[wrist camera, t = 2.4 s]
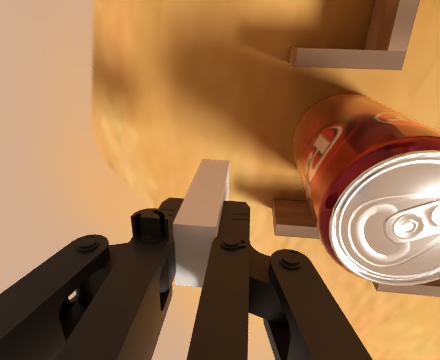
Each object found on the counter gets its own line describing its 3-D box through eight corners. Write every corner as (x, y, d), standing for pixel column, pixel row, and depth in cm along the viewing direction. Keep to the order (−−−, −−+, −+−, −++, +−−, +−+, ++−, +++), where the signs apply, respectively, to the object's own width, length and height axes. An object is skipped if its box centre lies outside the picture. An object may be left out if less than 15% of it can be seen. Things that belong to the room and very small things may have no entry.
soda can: (306, 194, 25) (344, 306, 15) (278, 114, 23) (299, 179, 12) (397, 165, 24) (518, 270, 13) (377, 75, 21) (508, 111, 10)
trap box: (298, -31, 19) (308, -48, 15) (671, -29, 17) (782, -48, 14) (267, 250, 28) (269, 280, 25) (507, 270, 26) (547, 307, 23)
